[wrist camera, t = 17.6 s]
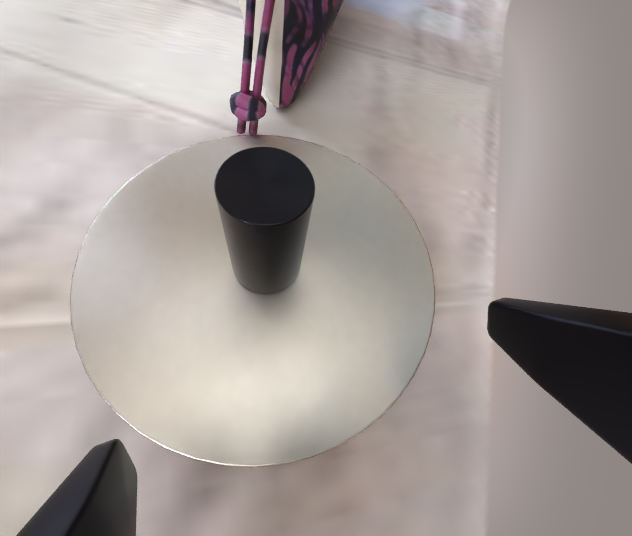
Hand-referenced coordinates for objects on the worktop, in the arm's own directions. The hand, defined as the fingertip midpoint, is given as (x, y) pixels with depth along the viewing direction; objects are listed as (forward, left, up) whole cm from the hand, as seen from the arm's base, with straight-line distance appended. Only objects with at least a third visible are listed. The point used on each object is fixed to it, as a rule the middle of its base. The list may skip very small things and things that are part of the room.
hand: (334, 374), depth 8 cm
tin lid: (+4, -3, -5) cm, 8 cm away
